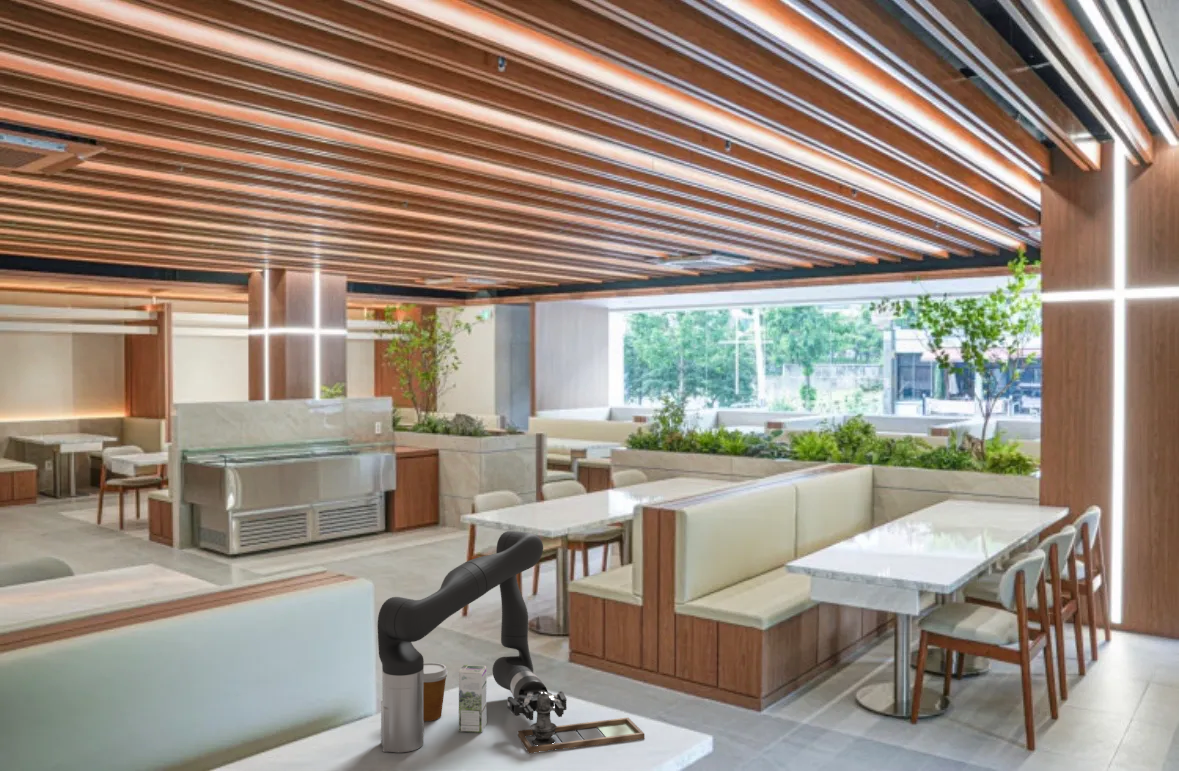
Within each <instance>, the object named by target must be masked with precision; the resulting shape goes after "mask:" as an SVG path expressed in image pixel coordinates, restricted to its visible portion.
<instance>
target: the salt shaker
mask: <svg viewBox="0 0 1179 771" xmlns="http://www.w3.org/2000/svg"><path fill="white" fill-rule="evenodd" d="M542 692H543V693H542V694H540V695H539V696H538V698H537V709H536V711H535V712H536V722H535V723H532V724H531V725H530V729H532V732H533V734H534V735H533V736H534V737H535V738H534V739H532V741H531V744H532V743H533V744H532V745H534V744H535V745H546V744H552V743H554V742H555V743H556V740H555V739H554V738H552V737H553V736H554V735H555V733H554V732H555V729H556V726H557V725H556V724H555V723H553V722H552V720H551V712H552V711H551V708H550V696H549V695H548V694H546V693H545V691H544V690H543V691H542ZM535 745H534V746H535Z"/></svg>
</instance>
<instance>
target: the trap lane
mask: <svg viewBox="0 0 1179 771" xmlns="http://www.w3.org/2000/svg"><path fill="white" fill-rule="evenodd" d="M554 734H555V735H556V734H557V735H556V736H557V737H558V739H559V738H560V739H559V740H560V742H557V743H556V742H555V743H554V744H546V745H538V746H535V745H532V744H531V743H530V741H529V740H528V739H527V737H531V736H530V735H532V736H534V734H533V732H532V729H531V728H529V729H522V730H518V731H517V738H518V739H519V740H520V742H521V743H522V744H523V745H522V746H524V748H525V749H527V750H526V752H527V753H528V754H535V753H534V752H537V753H540V752H539V751H545V752H549V751H548V750H553V751H556V750H555V749H561V750H564V749H563V748H568V749H573V748H574V747H576V748H583V747H584V748H585V747H591V746H599V745H605V744H614V743H615V744H616V743H621V742H629V741H630V740H631V741H637V739H639V740H645V732H644V731H642V730H641V729H640V728H639V727H638V725H637V724H635V723H634V721H632V719H630V718H629V717H623V718H622V717H620V718H613V719H612V718H611V719H604V720H596V721H589V722H588V721H587V722H581V723H580V722H579V723H573V724H572V723H570V724H562V725H556V729H555V733H554ZM631 741H630V742H631ZM574 749H575V748H574Z"/></svg>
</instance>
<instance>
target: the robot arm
mask: <svg viewBox="0 0 1179 771" xmlns="http://www.w3.org/2000/svg"><path fill="white" fill-rule="evenodd" d="M496 543H497V544H496V549H495V550H496V553H492V554H487V555H482V556H480V557H475V558H473V559H470V560H467V561H465V562H463V563H460V565H458V566H457V567H455V568H453V569H452V570H450V571H449V572H448V573H447V574H446V575H445V577H444V578H443V581H442V583H441V586H440V588H439V589H438V590H437V591H435V592H434V593H432V594H431V595H428V596H426V597H424V598H422V599H411V598H407V597H400V596H393V597H390V598H388V599H386V600H385V601H384V602H383V604H382V605H381V607H380V609H379V612H378V616H377V645H378V646H377V648H378V657H379V660H380V663H381V665H382V666H381V668H382V670H381V672H382V674H381V675H382V680H381V681H382V683H381V684H382V688H381V689H382V690H381V696H382V697H381V698H382V699H381V702H380V705H381V706H380V708H381V709H380V712H381V713H380V733H381V734H380V742H381V747H382V748H381V749H382V751H383V752H385V753H386V752H390V753H408V752H412V751H416V750H417V749H420V748H422V746H423V745H424V738H425V737H424V721H423V714H424V663H425V662H424V661H425V660H424V656H423V654H422V653H421V652H419V650H418V649H416V648H415V646H414V644H413V643H414V642H417V641H420V640H422V639H423V638H425V637H426V636H427V635H429V634H431V633H432V631H434V630H435V629H436V628H437V627H438V626H440V624H442V623H444V621H446V620H447V619H448V618H450V617H451V616H453V615H454V614H456V613H458V611H460V610H462V609H464V608H465V607H466V606H468V605H469V604H471V603H473V602H474V601H476V600H478V599H480V597H483V596H484V595H485V594H487V593H488V592H490V591H491V590H493V589H494V588H496V587H497V586H499V591H500V592H499V593H500V597H501V598H500V599H501V601H500V602H501V626H500V627H501V630H500V633H501V635H500V643H501V645H502V647H505V648H507V649H513V650H516V651H518V655H517V656H515V655H514V656H513V655H511V656H502V657H501V656H500V657H498V658H497V659H496V660H495V662H494V663H493V665H492V677H493V679H494V682H495V683H496V684H498V686H499V687H501V688H504V689H506V690H507V691H510V693H511V694H512V696H507V699H506V700H507V701H506V702H507V709H508V711H510V712H511V713H512V715H514V716H520V714H522V716H524V717H525V719H528V720H529V721H534V712H536V709H537V698H538V696H539V695H540V694H542V693H543V692H542V691H543V690H544V691H545V693H546V694H548V695H549V696H550V708H551V712H554V713H555V714H556V715H557V717H558V718H562V717H563V715H564V713H565V712H564V711H567V709H568V708H567V697H566V695H565V692H563V691H562V690H561V691H558V692H557V694H552V693H551V692H549V691H548V688H547V687H546V684H544V683H543V682H542V680H541V679H540V677H538V675H536V674H535V673H534V665H533V662H532V661H533V660H532V658H531V652H530V648H529V639H528V637H529V615H528V614H529V613H528V608H527V606H526V602H525V600H524V597H523V596H522V595H523V594H522V593H521V590H520V587H519V584H518V580H517V579H518V578H517V575H519V574H521V573H523V572H525V571H528V570H529V569H532V568H533V567H534V566H536V565H537V564H538V563H539V561H540V560H541V558H542V555H543V553H544V544H543V540H541V538H540V537H539V536H538V535H536V534H534V533H532V532H531V533H530V532H524V531H512V530H510V531H509V530H508V531H504V532H502V534H501V535H500V536H499V538H498V540H497V542H496Z"/></svg>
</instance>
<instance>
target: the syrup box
mask: <svg viewBox="0 0 1179 771" xmlns="http://www.w3.org/2000/svg"><path fill="white" fill-rule="evenodd" d="M487 672H488V671H487V665H481V664H480V665H479V664H478V665H476V664H463V666H462V667H461V668H460V669H459V671H458V733H459V732H460V733H476V734H477V733H478V734H479V733H481V734H482V732H483V731H484V730H483V729H485V728H486V726H487V721H488V719H487V689H488V688H487V687H488V686H487V682H488V681H487V680H488V679H487V678H488V674H487ZM484 727H485V728H484Z"/></svg>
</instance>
